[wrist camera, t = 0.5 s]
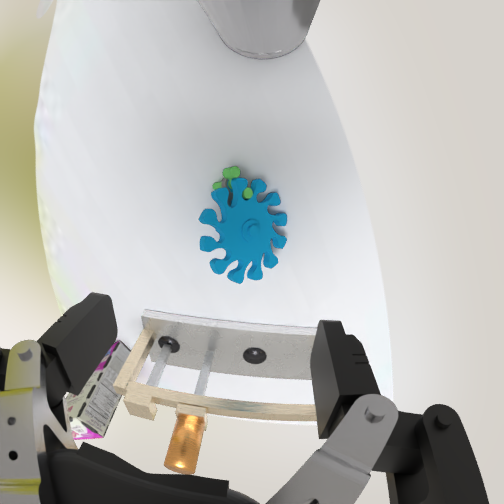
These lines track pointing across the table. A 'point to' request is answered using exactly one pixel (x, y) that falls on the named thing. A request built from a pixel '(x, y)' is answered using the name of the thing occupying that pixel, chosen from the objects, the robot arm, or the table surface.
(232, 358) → the divider frame
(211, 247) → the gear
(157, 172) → the table surface
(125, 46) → the table surface
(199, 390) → the cylinder
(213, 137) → the table surface
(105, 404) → the candy bar box
